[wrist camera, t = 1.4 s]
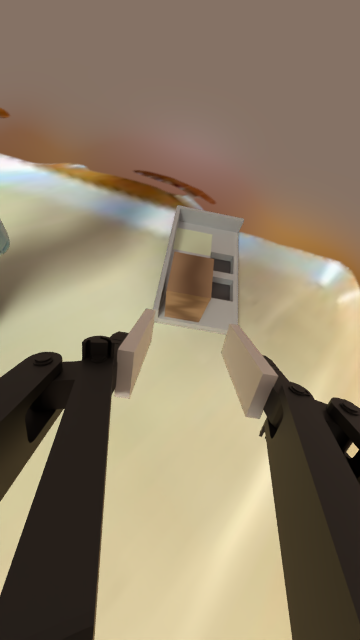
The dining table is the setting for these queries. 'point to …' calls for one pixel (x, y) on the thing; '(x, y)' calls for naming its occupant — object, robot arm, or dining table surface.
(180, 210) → the deck
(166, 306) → the block
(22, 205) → the dining table surface
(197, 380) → the dining table surface
